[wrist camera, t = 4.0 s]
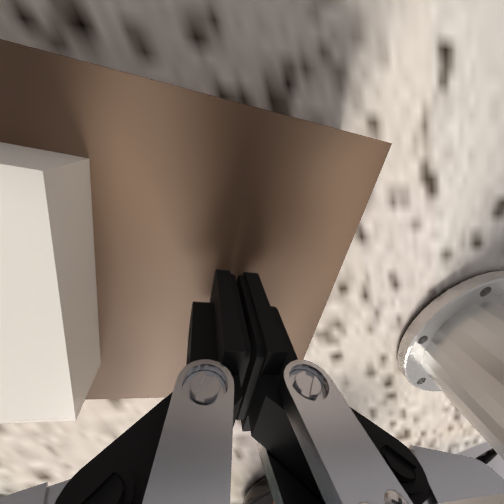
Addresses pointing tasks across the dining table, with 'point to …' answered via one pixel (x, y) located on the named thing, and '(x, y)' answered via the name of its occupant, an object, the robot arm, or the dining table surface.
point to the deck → (189, 203)
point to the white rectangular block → (46, 285)
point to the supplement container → (259, 493)
